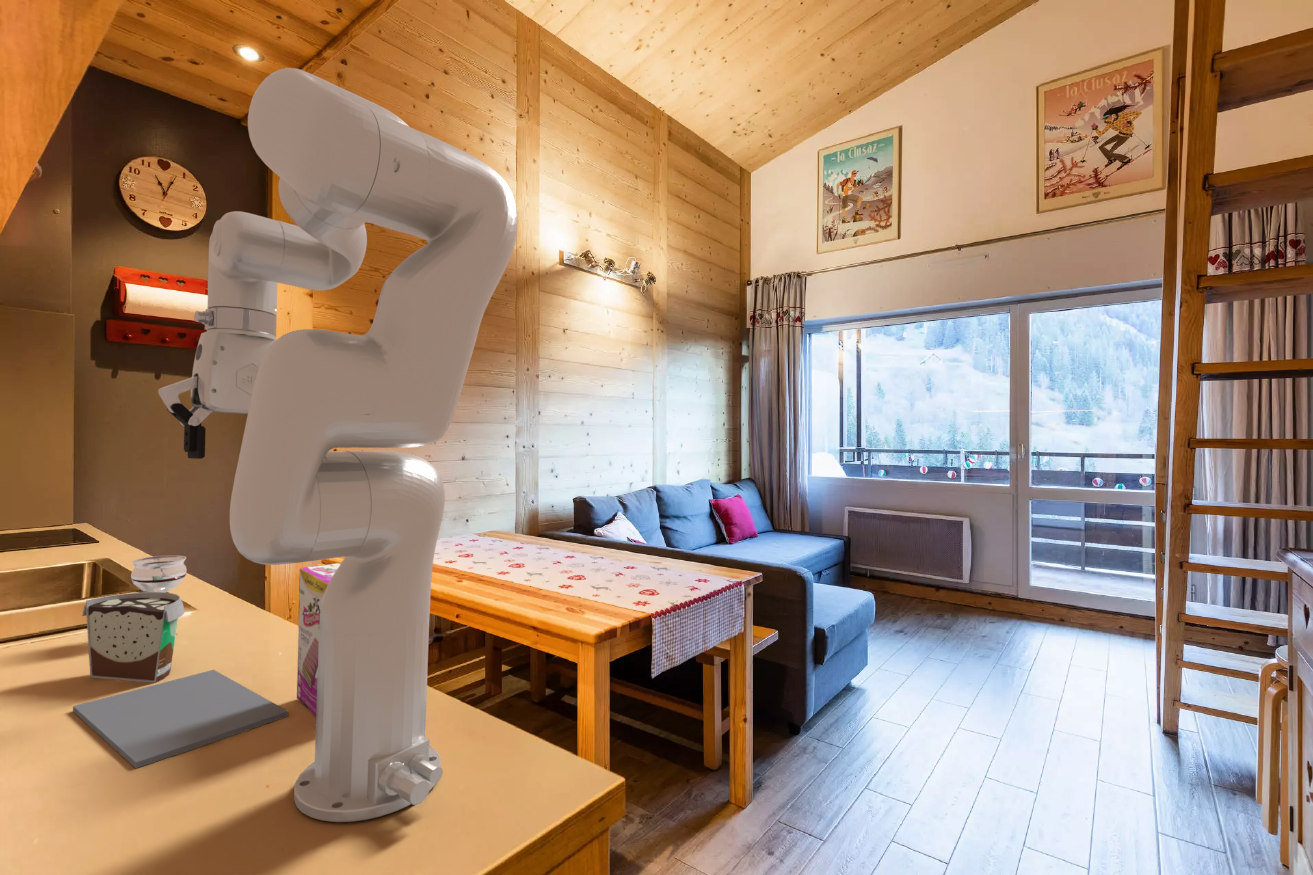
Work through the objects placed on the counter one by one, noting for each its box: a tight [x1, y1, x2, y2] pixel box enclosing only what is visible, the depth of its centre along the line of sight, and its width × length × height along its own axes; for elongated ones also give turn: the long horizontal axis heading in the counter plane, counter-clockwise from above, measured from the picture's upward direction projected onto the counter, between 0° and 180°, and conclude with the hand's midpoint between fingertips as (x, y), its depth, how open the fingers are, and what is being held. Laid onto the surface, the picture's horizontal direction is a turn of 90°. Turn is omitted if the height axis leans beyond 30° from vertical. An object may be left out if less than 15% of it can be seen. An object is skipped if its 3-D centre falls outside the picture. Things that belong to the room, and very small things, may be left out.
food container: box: [81, 591, 185, 684], centre depth 82 cm, size 12×6×10 cm, turn 84°
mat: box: [72, 669, 289, 769], centre depth 71 cm, size 20×14×1 cm
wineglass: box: [130, 555, 188, 635], centre depth 95 cm, size 7×7×12 cm
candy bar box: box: [296, 562, 341, 717], centre depth 73 cm, size 11×5×16 cm, turn 47°
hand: (239, 457), depth 80 cm, fingers open, 9 cm apart
